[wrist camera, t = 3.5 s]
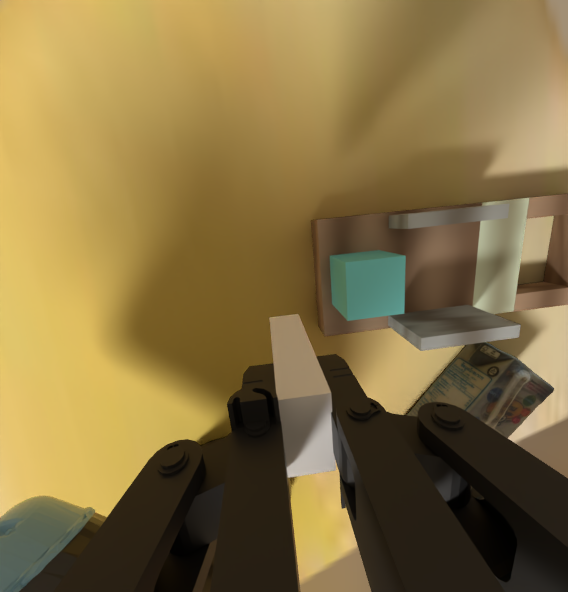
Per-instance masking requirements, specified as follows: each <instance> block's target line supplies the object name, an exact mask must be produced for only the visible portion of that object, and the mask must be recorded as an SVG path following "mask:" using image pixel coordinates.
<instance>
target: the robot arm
mask: <svg viewBox="0 0 568 592" xmlns="http://www.w3.org/2000/svg"><path fill="white" fill-rule="evenodd" d="M269 319H270V330H271V341H272V352H273V363H272V364H265V365H257V366H250V367H249V368H248V369H247V370H246V372H245V373H244V374H243V382H242V383H243V384H242V389H241V390H239V391H237V392H236V393H235V394H234V395H232V396H231V397H230V399H229V401H228V403H227V407H228V412H229V418H230V423H231V428H232V432H231V433H230V434H229V435H228V436H226V437H225V438H221V439H217V440H214V441H211V442H208V443H206V444H204V445H202V446H200V445H199V444H198V443H197V442H196V441H192V440H188V439H187V440H178V441H175V442H173V443H170V444H168V445H166V446H164V447H163V448H161V449H160V450H158V451H157V452H156V453H155V454H154V455H153V456H152V457H151V458H150V459H149V461H148V462H147V463H146V465H145V466H144V468H143V469H142V470H141V472H140V473H139V474H138V476H137V477H136V479H135V480H134V481H133V483H132V484H131V485H130V487H129V488H128V490H127V491H126V492H125V494H124V495H123V496H122V498H121V499H120V501H119V502H118V503H117V505H116V506H115V507H114V509H113V510H112V512H111V513H110V514H109V516H108V517H105V516H102V515H100V514H98V513H95V510H94V509H93V508H91V507H87V508H85V509H84V508H82V507H79V506H76V505H73V504H70V503H68V502H65V501H62V500H59V499H57V498H54V497H50V496H37V497H33V498H30V499H27V500H25V501H23V502H21V503H19V504H17V505H16V506H14V507H13V508H11V509H10V510H9V511H7V512H6V513H5V514H4V515H3V516H2V517H0V592H300V583H299V574H298V565H297V556H296V547H295V538H294V528H293V519H292V510H291V482H290V477H296V476H303V475H309V474H315V473H322V472H328V471H334V470H336V465H335V460H336V463H337V466H338V469H339V472H340V491H341V505H342V508H347V511H348V514H349V518H350V521H351V524H352V528H353V531H354V534H355V538H356V541H357V545H358V548H359V551H360V555H361V558H362V561H363V565H364V568H365V571H366V575H367V578H368V581H369V585H370V588H371V591H372V592H568V478H566V477H565V476H563V475H562V474H560V473H559V472H557V471H556V470H554V469H553V468H551V467H550V466H548V465H547V464H545V463H544V462H542V461H541V460H539V459H538V458H536V457H535V456H533V455H532V454H530V453H529V452H527V451H525V450H524V449H523V448H521V447H520V446H518V445H517V444H515V443H514V442H512V441H511V440H509V439H508V438H506V437H505V436H503V435H502V434H500V433H499V432H497V431H496V430H494V429H493V428H491V427H490V426H488V425H486V424H485V423H483V422H482V421H480V420H479V419H477V418H476V417H474V416H473V415H471V414H470V413H468V412H467V411H465V410H463V409H461V408H459V407H457V406H455V405H451V404H448V403H443V402H430V403H425V404H424V405H422V406H421V407H420V408H419V411H418V415H417V416H407V415H398V414H392V413H389V412H386V411H385V409H384V408H383V407H382V406H381V405H380V404H379V403H378V402H377V401H375V400H373V399H371V398H368V397H367V396H366V394H365V393H364V391H363V389H362V388H361V386H360V384H359V383H358V381H357V379H356V378H355V376H354V375H353V373H352V371H351V370H350V369H349V366H348V365H347V363H346V362H345V360H344V359H342V358H341V357H339V356H338V355H336V354H333V355H326V356H318V357H316V355H315V352H314V350H313V348H312V345H311V343H310V340H309V338H308V336H307V333H306V331H305V328H304V326H303V324H302V321H301V319H300V316H299V314H293V315H285V316H277V317H269ZM345 504H346V505H345Z"/></svg>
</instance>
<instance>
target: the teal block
mask: <svg viewBox="0 0 568 592" xmlns="http://www.w3.org/2000/svg"><path fill="white" fill-rule="evenodd" d="M405 262H406V256H405V255H400V254H395V253H390V252H386V251H381V250H375V251H366V252H357V253H349V254H340V255H331V256H330V273H331V292H332V304H333V306H334V307H335V308H336V309H337V310H338V311H339V312H340V313H341V314H342V315H343V316H344V317H345V318H346V320H347V321H351V320H359V319H366V318H374V317H382V316H390V315H398V314H404V306H405Z"/></svg>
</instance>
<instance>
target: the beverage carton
mask: <svg viewBox="0 0 568 592" xmlns="http://www.w3.org/2000/svg"><path fill="white" fill-rule="evenodd" d="M553 390H554V388H553V387H552V386H551V385H550V384H548V383H547V382H546V381H544V380H543V379H542V378H541V377H539V376H538V375H537V374H535V373H534V372H533V371H532V370H531V369H529V368H528V367H527V366H526V365H525V364H523V363H522V362H521V361H520V360H518V359H517V358H516V357H514V356H512V355H510V354H508V353H505V352H503V351H501V350H499V349H497V348H496V347H494V346H492V345H491V344H489V343H487V342H482V343H475V344H468V345H466V346H465V347H464V349H463V350H462V351H461V352H460V353H459V355H458V356H457V357H456V358H455V359H454V360H453V361H452V362H451V363H450V364H449V366H448V367H447V368H446V369H445V370H444V371H443V373H442V374H441V375H440V376H439V377H438V379H437V380H436V381H435V382H434V383H433V385H432V386H431V387H430V388H429V389H428V390H427V391H426V393H425V394H424V395H423V396H422V397H421V399H420V400H419V401H418V402H417V403H416V405H415V406H414V407H413V408H412V409H411V411H410V412H409V413H408V414H407V416H417V415H418V411H419V408H420V407H421V406H422V405H424V404H425V403H430V402H443V403H448V404H451V405H455V406H457V407H459V408H461V409H463V410H465V411H467V412H468V413H470V414H471V415H473V416H474V417H476V418H477V419H479V420H480V421H482V422H483V423H485V424H486V425H488V426H490V427H491V428H493V429H494V430H496V431H497V432H499V433H500V434H502V435H503V436H505V437H506V438H508V437H509V436H510V435H511V434H512V433H513V432H514V431H515V430H516V429H517V428H518V427H519V426H520V425H521V424H522V423H523V421H524V420H525V419H526V418H527V417H528V416H529V415H530V414H531V413H532V412H533V411H534V410H535V408H536V407H537V406H538V405H540V404H541V403H542V402H543V401H544V400H545V399H546V398H547V397H548V396H549V395H550V394H551V393H552V392H553Z"/></svg>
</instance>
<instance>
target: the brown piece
mask: <svg viewBox="0 0 568 592" xmlns="http://www.w3.org/2000/svg"><path fill="white" fill-rule="evenodd" d="M546 216H554V221H553V227H552V233H551V239H550V245H549V251H548V257H547V263H546V269H545V275H544V282H538V283H530V284H522V285H517V283H518V276H519V269H520V262H521V255H522V247H523V240H524V233H525V226H526V219H527V218H537V217H546ZM311 225H312V239H313V253H314V268H315V282H316V296H317V311H318V325H319V328H320V329H321V331H322V333H323V334H324V336H332V335H339V334H347V333H354V332H362V331H370V330H377V329H385V328H392V329H393V330H395V331H396V332H397V333H398V334H400V335H401V336H402V337H404V338H405V339H406V340H407V341H409V342H410V343H411V344H413V345H414V346H415V347H416V348H418V349H419V350H420V351H424V350H431V349H438V348H446V347H453V346H460V345H468V344H475V343H482V342H489V341H497V340H504V339H511V338H518V337H519V333H520V327H521V325H520V324H517V323H515V322H512V321H510V320H507V319H504V318H502V317H499V316H496V315H494V314H498V313H505V312H513V311H522V310H530V309H537V308H545V307H553V306H560V305H568V194H560V195H550V196H541V197H531V198H521V199H512V200H502V201H493V202H483V203H473V204H464V205H454V206H444V207H435V208H425V209H416V210H406V211H396V212H387V213H377V214H367V215H358V216H348V217H338V218H329V219H319V220H311ZM375 250H381V251H386V252H390V253H395V254H400V255H405V256H406V262H405V306H404V314H398V315H390V316H382V317H374V318H366V319H359V320H351V321H347V320H346V318H345V317H344V316H343V315H342V314H341V313H340V312H339V311H338V310H337V309H336V308H335V307H334V306H333V304H332V292H331V273H330V256H331V255H340V254H349V253H357V252H366V251H375Z"/></svg>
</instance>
